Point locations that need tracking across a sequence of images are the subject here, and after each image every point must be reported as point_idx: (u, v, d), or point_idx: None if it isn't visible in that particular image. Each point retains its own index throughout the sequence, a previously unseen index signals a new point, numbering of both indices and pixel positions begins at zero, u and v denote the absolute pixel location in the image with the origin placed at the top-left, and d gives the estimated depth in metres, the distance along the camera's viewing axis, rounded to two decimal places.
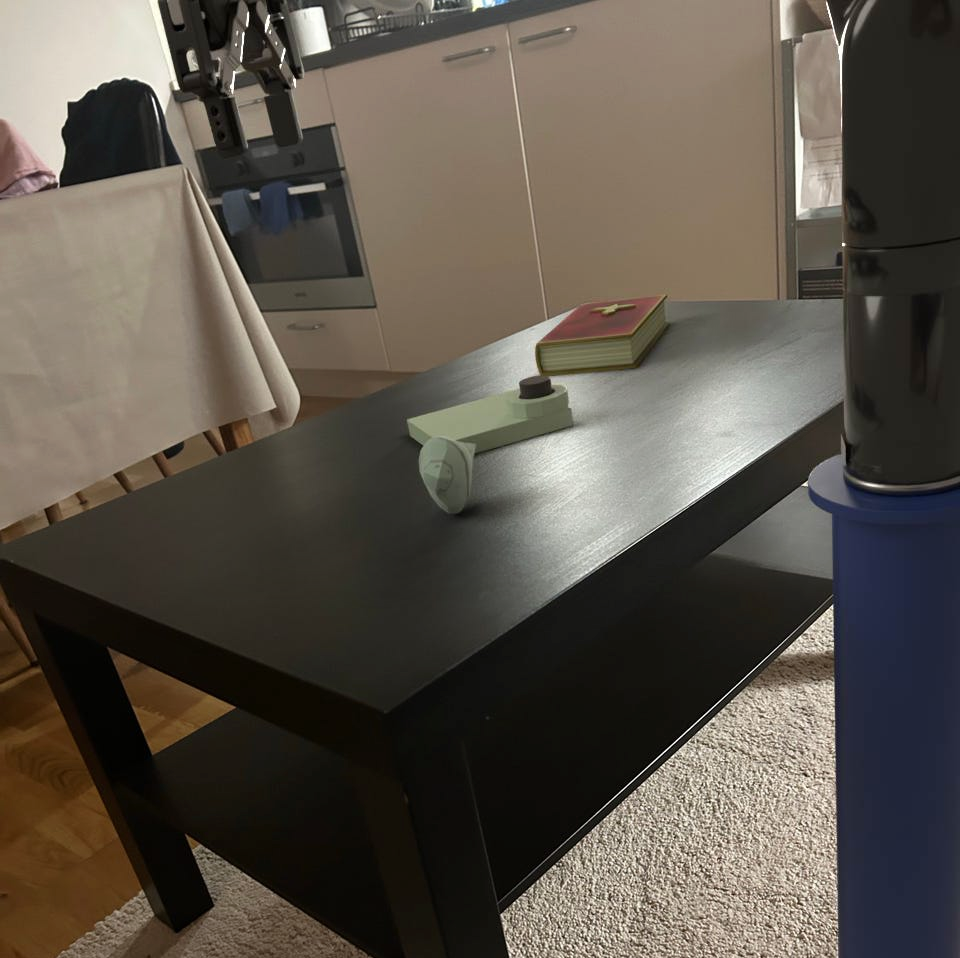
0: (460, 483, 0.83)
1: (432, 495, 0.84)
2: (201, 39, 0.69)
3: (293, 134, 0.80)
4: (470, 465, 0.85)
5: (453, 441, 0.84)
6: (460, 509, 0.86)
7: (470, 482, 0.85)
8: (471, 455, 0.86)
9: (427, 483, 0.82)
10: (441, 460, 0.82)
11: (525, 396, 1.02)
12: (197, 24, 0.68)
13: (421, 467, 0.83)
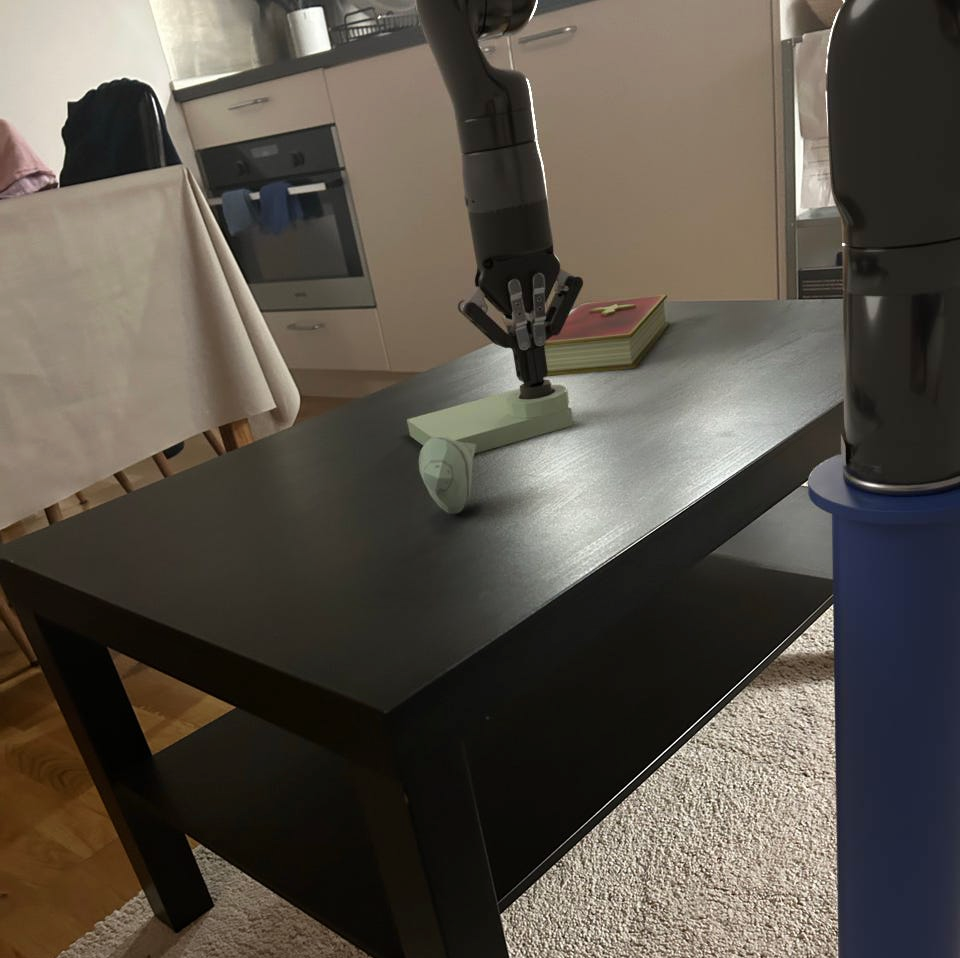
0: (460, 483, 0.83)
1: (432, 495, 0.84)
2: (489, 327, 0.97)
3: None
4: (470, 465, 0.85)
5: (453, 441, 0.84)
6: (460, 509, 0.86)
7: (470, 482, 0.85)
8: (471, 455, 0.86)
9: (427, 483, 0.82)
10: (441, 460, 0.82)
11: None
12: (482, 322, 0.97)
13: (421, 467, 0.83)
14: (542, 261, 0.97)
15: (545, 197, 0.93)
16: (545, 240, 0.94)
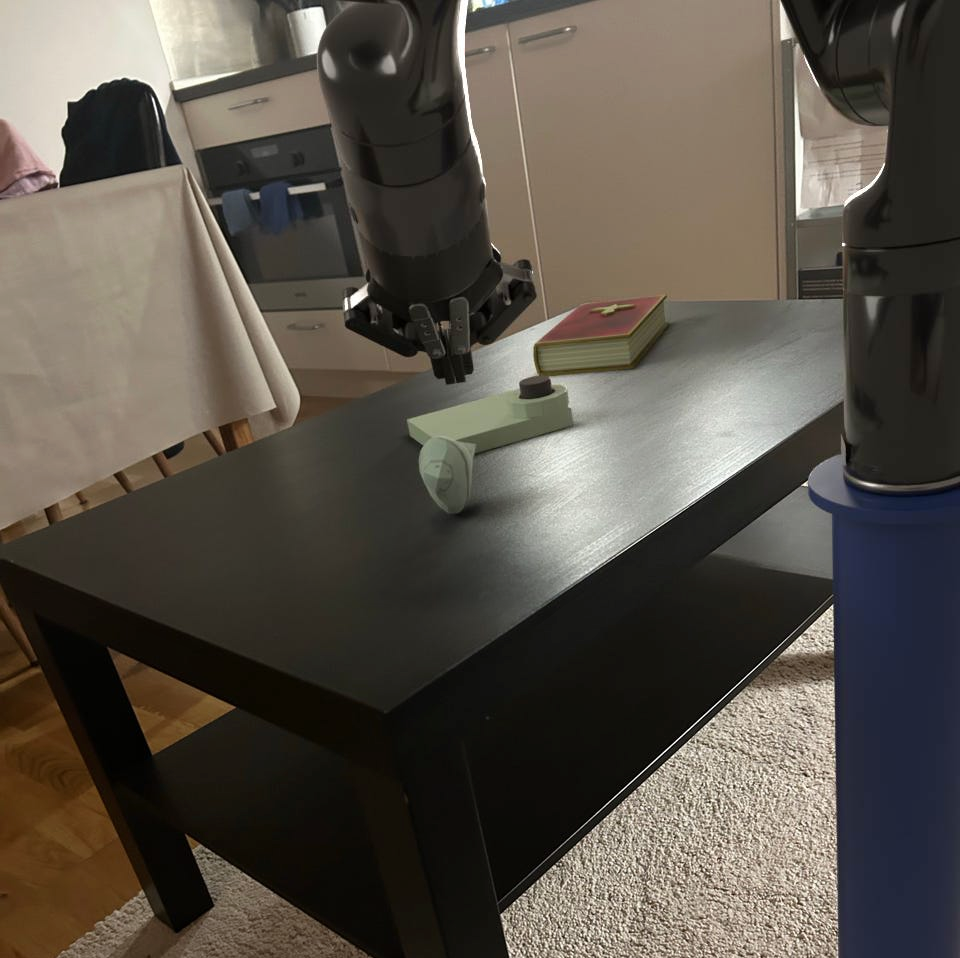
0: (460, 483, 0.83)
1: (432, 495, 0.84)
2: None
3: None
4: (470, 465, 0.85)
5: (453, 441, 0.84)
6: (460, 509, 0.86)
7: (470, 482, 0.85)
8: (471, 455, 0.86)
9: (427, 483, 0.82)
10: (441, 460, 0.82)
11: (525, 396, 1.02)
12: None
13: (421, 467, 0.83)
14: None
15: None
16: None
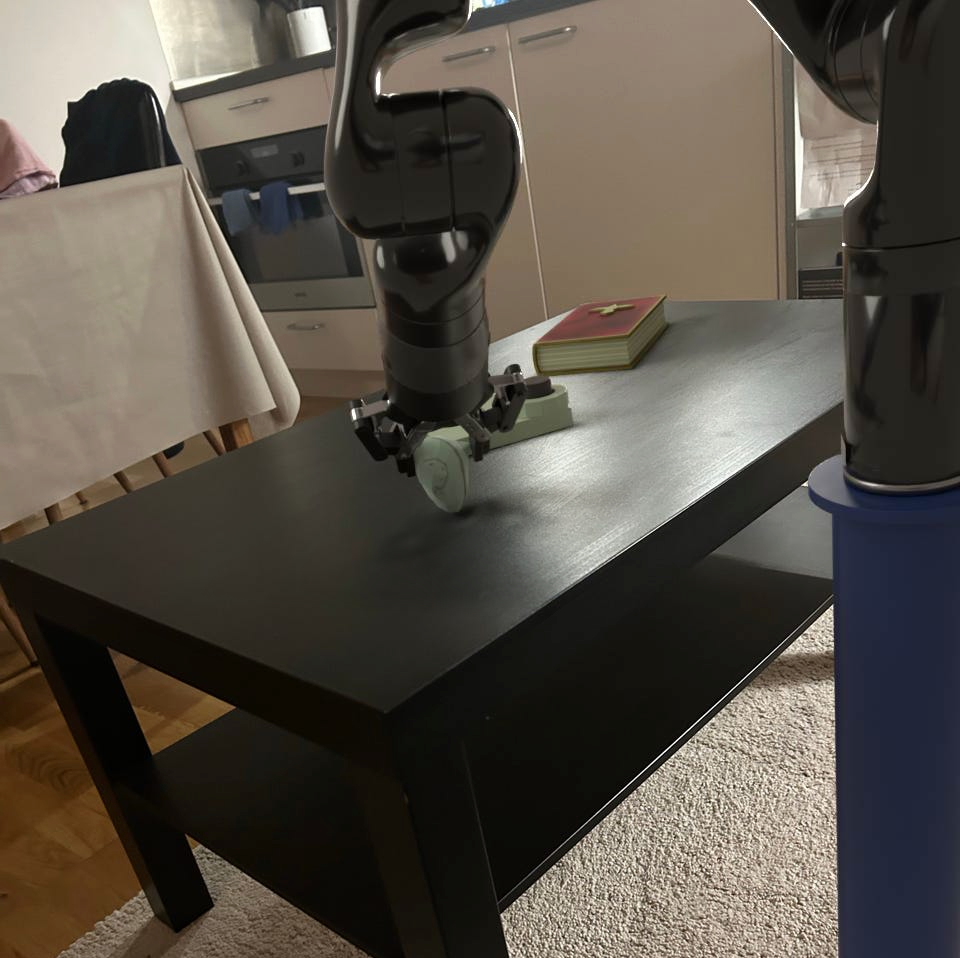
0: (456, 480, 0.83)
1: (429, 495, 0.84)
2: None
3: None
4: (465, 462, 0.85)
5: (446, 439, 0.84)
6: (459, 507, 0.85)
7: (467, 479, 0.85)
8: (466, 453, 0.86)
9: (422, 482, 0.82)
10: (435, 458, 0.82)
11: None
12: None
13: (416, 467, 0.84)
14: None
15: None
16: None
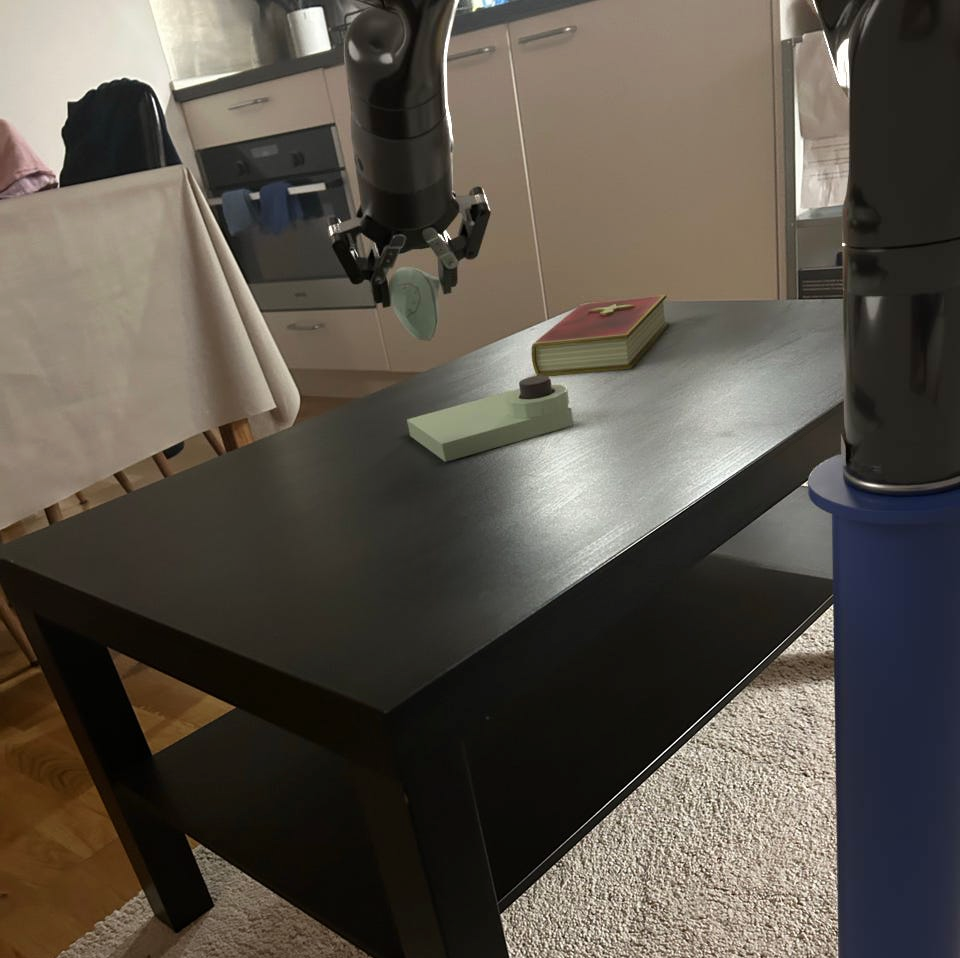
0: (428, 305, 0.91)
1: (403, 321, 0.91)
2: None
3: None
4: (436, 292, 0.92)
5: (418, 270, 0.91)
6: (430, 335, 0.93)
7: (437, 309, 0.92)
8: (436, 285, 0.93)
9: (397, 304, 0.89)
10: (408, 282, 0.89)
11: (525, 396, 1.02)
12: None
13: (391, 295, 0.91)
14: None
15: None
16: None
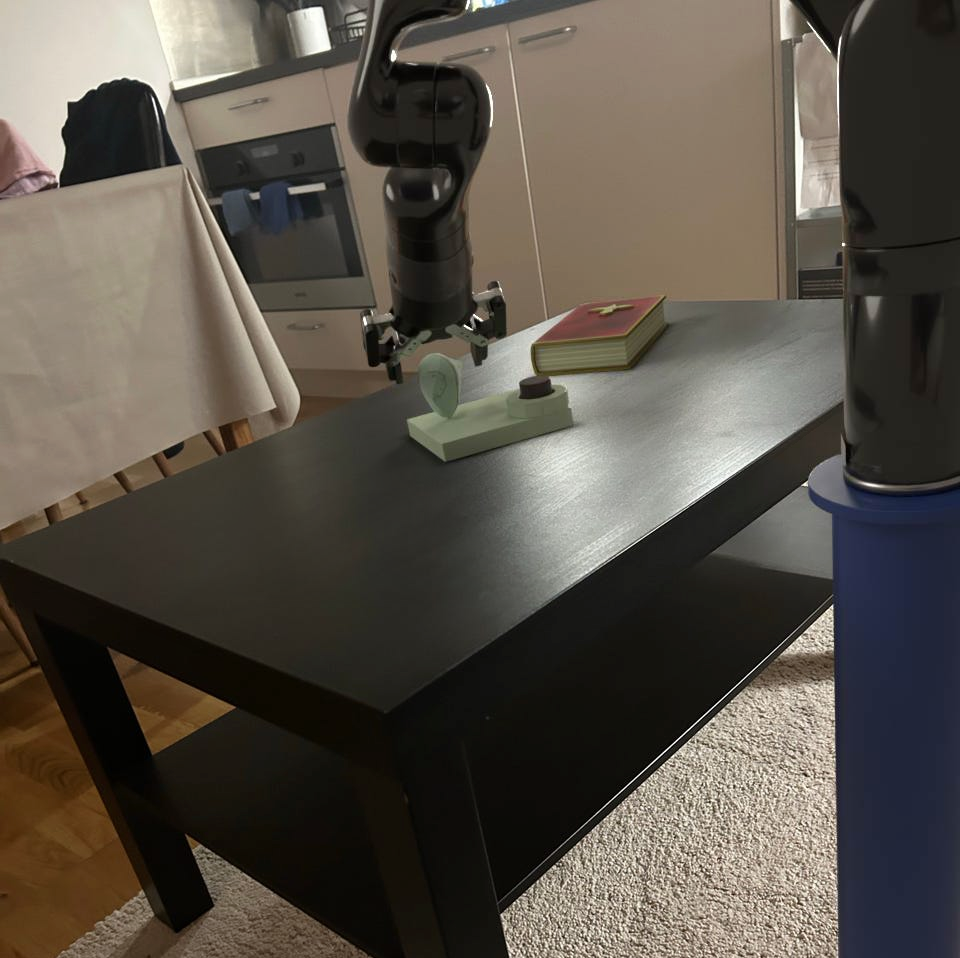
0: (452, 390, 1.03)
1: (429, 401, 1.04)
2: None
3: None
4: (459, 377, 1.05)
5: (445, 357, 1.04)
6: (451, 413, 1.05)
7: (459, 391, 1.05)
8: (459, 369, 1.06)
9: (425, 389, 1.02)
10: (437, 371, 1.02)
11: (525, 396, 1.02)
12: None
13: (420, 378, 1.03)
14: None
15: None
16: None
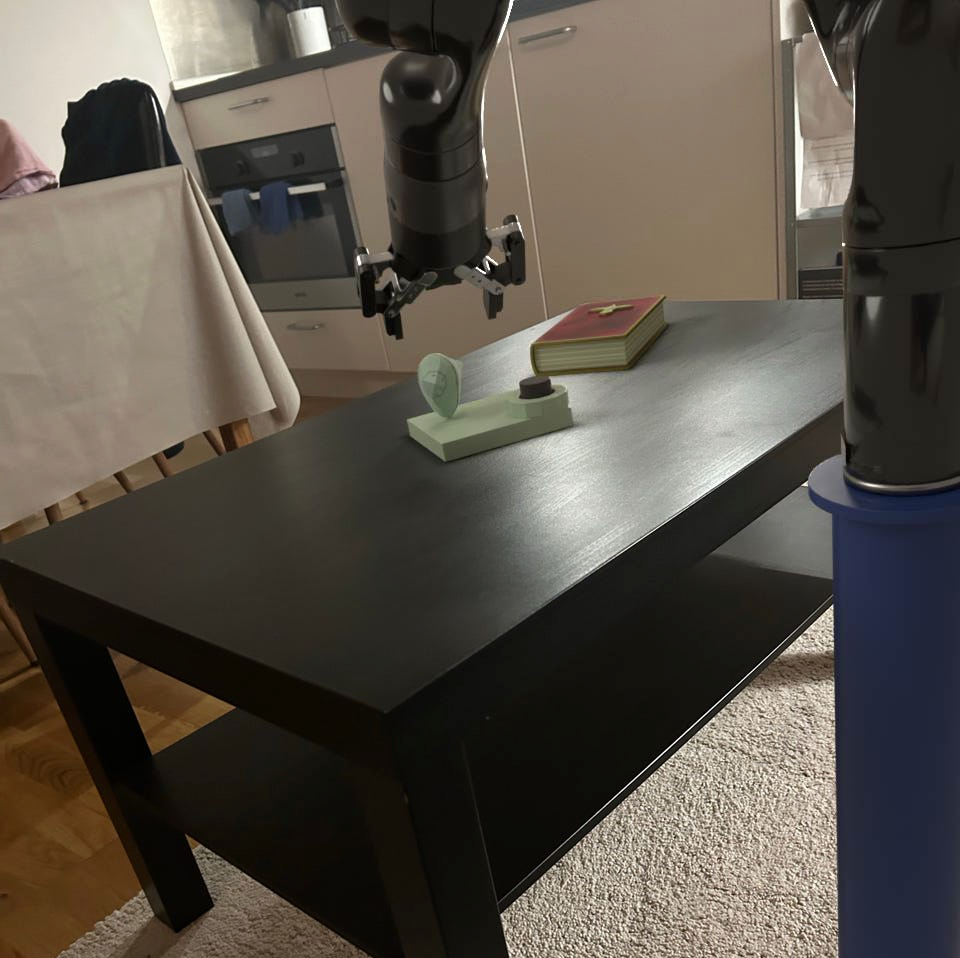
0: (452, 390, 1.03)
1: (429, 401, 1.04)
2: None
3: None
4: (459, 377, 1.05)
5: (445, 357, 1.04)
6: (451, 413, 1.05)
7: (459, 391, 1.05)
8: (459, 370, 1.06)
9: (425, 389, 1.02)
10: (437, 370, 1.02)
11: (525, 396, 1.02)
12: None
13: (420, 378, 1.03)
14: None
15: None
16: None
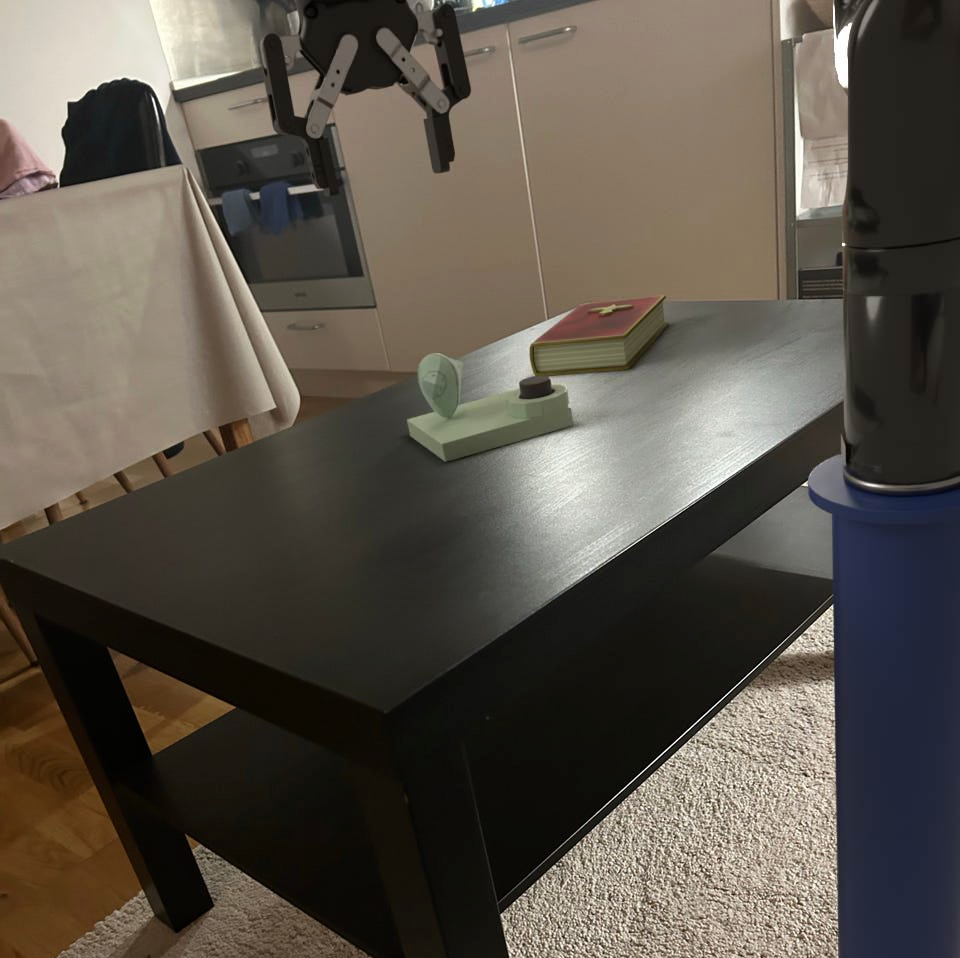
0: (452, 390, 1.03)
1: (429, 401, 1.04)
2: (279, 86, 0.69)
3: (438, 162, 0.74)
4: (459, 377, 1.05)
5: (445, 357, 1.04)
6: (451, 413, 1.05)
7: (459, 391, 1.05)
8: (459, 370, 1.06)
9: (425, 389, 1.02)
10: (437, 370, 1.02)
11: (525, 396, 1.02)
12: (274, 71, 0.68)
13: (420, 378, 1.03)
14: (390, 13, 0.69)
15: None
16: None
